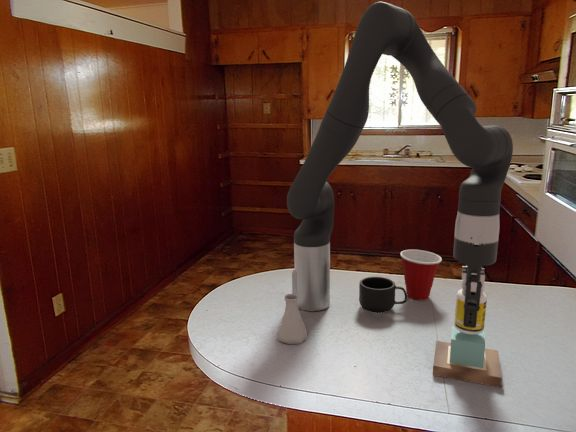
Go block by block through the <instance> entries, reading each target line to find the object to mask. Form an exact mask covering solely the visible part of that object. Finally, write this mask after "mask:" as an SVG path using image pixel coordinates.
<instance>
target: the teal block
mask: <svg viewBox="0 0 576 432" xmlns="http://www.w3.org/2000/svg"><path fill="white" fill-rule="evenodd" d="M450 337H451V340H450V343H451V349H450V363H456V364H462V365H467V366H473V367H479V368H483V364H484V353H485V348H486V335H485V329H484V330H483V332H482V333H480V334H466V333H462V332H460V331H458V330H457V329H456V328H455V326H454V324H452V327H451V336H450Z"/></svg>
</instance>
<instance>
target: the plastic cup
mask: <svg viewBox="0 0 576 432" xmlns="http://www.w3.org/2000/svg"><path fill="white" fill-rule="evenodd" d="M400 257H401V262H402V266H403V276H404V277H403V278H404V284H405V291H406V293H407V298H409V299H411V300H415V301H426V300H428V299H429V297H430V296H431V290H432V288H433V284H434V280H435V276H436V273H437V269H438V267H439V264H440V263H441V262H442V261H443V259H442V257H441V256H440V255H439V254H436V253H434V252H430V251H428V250H421V249H405V250H402V251H400Z"/></svg>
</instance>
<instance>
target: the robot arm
mask: <svg viewBox="0 0 576 432" xmlns="http://www.w3.org/2000/svg"><path fill="white" fill-rule="evenodd" d="M382 55H386V56H391V57H392V58H393V59H395V60H396V61H397V62H399V63H400V64H401V65H402V66H403V67H404V68H405V69H406V70H407V71H408V73H409V75H410V76H411V78H412V80H413V83H414V86H415V88H416V92H417V95H418V97H419V99H420V100H421V103H422V104H423V106H424V107H425V109H426V110H427V111H428V112H429V113H430V115H431V116H432V118H434V120H435V121H436V123H438V124H439V126H440V127H441V130H442V133H443V135H444V137H445V141H446V142H447V145H448V146H449V150H450V151H451V153H452V154H453V156H454V157H455V158H456V160H458V161H459V162H460V163H461V164H463V165H464V166H466V167H468V168H471V172H470V174H469V177H468V178H466V179H465V180H463V182H461V184H460V186H459V191H458V206H457V212H456V213H457V215H456V218H455V225H454V238H453V239H454V241H453V251H452V252H453V254H452V255H453V259H454V260H455V261H456V262H458V263H461V264H465V265H462V268H461V281H462V280H463V289H462V288H461V289H462V294H463V295H464V296H465V302H464V304H463V306H464V321H463V325H464V326H465V327H470V328H475V327H476V321H477V311H479V309H480V306H479V304H480V297H482V291H483V282H484V283H485V281H486V273H485V268H484V266H491V265H494V264H495V263H496V261H497V257H498V248H499V237H500V236H499V235H500V222H501V221H500V213H501V212H500V209H501V201H502V200H501V199H502V198H501V197H502V189H503V187H504V184H505V181H506V178H507V175H508V172H509V169H510V166H511V162H512V160H513V159H512V158H513V154H514V153H513V152H514V143H513V139H512V135H511V134H510V132H509V131H508V130H507V129H506V128H505V127H502V126H500V125H495V124H494V125H482V124H481V123H479V121H478V120H477V118H476V117H475V115H476V113H477V105H476V103H475V100H473V98H472V97H471V96H470V95H469V94H468V92H467V91H466V90H465V89H464V88H463V86H462V85H461V84H460V83H459V82H458V81H457V80H456V78H455V77H454V76H453V74H452V73H450V71H449V70H448V69H447V67H446V66H445V65H444V64H443V63H442V61H441V60H440V59H439V57H438V56H437V54H436V52H435V51H434V49H433V48H432V46H431V45H430V43H429V41H428V40H427V38H426V36H425V34H424V33H423V31H422V29H421V27H420V25H419V24H418V22H417V20H416V18H415V17H414V16H413V14H412V13H411V12H409V11H408V10H407V9H405V8H402V7H400V6H396V5H394V4H392V3H388V2H385V1H377V2H374V3H372V4H371V5H370V6H369V7H368V8H367V9H366V10H365V11H364V12H363V14H362V16H361V18H360V20H359V23H358V25H357V27H356V30H355V32H354V36H353V39H352V42H351V46H350V48H349V51H348V55H347V59H346V61H345V64H344V67H343V69H342V72H341V75H340V77H339V80H338V82H337V85H336V88H335V89H334V90H335V91H334V93H333V95H332V97H331V100H330V102H329V104H328V106H327V108H326V111H325V113H324V115H323V117H322V120H321V122H320V125H319V128H318V130H317V133H316V135H315V137H314V139H313V142H312V143H311V145H310V148H309V151H308V154H307V155H306V158H305V160H304V162H303V164H302V166H301V167H300V170H299V171H298V172H297V174H296V177H294V180H293V181H292V183H291V185H290V188H289V190H288V192H287V196H286V206H287V210H288V212H289V214H290V215H291V216H292V217H293V218H295V219H297V220H302V221H301V223H300V224H299V226H298V227H297V228H296V229H295V231H294V233H293V250H294V251H293V253H294V254H293V256H294V257H293V258H294V259H293V260H294V269H293V270H292V271H291V288H292V290H291V294H296V295H298V300H297V306H298V309H300V310H303V311H308V312H318V311H322V310H325V309H327V308H328V307H330V305H331V301H330V300H331V235H332V233H333V229H334V219H335V218H334V217H335V195H334V192H333V189H332V187H331V185H330V184H329V182H328V179H329V177H330V176H331V175H332V173H333V171H335V169H336V168H337V167H338V166H339V164H341V162H342V161H343V160H344V159H345V158H346V157H347V156H348V154H349V153H350V152H351V151H352V150H353V148H354V147H355V145H356V144H357V142H358V140H359V138H360V136H361V134H362V132H363V130H364V127H365V126H366V124H367V121H368V119H369V111H370V84H371V80H372V77H373V74H374V72H375V69H376V67H377V65H378V62H379V61H380V60H381V57H382ZM483 292H484V291H483ZM468 300H476V303H470V302H468Z"/></svg>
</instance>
